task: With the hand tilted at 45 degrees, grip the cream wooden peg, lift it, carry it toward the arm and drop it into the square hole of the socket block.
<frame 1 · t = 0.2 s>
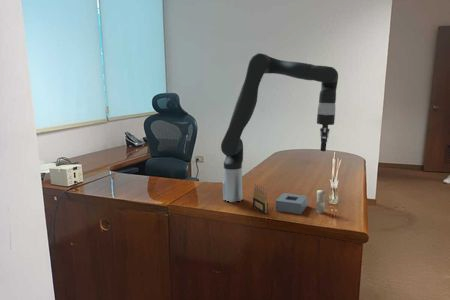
hand: (323, 149, 154), 29 cm above the table, tool pointing down, fingers open, 8 cm apart
peg: (320, 212, 158), on the table
socket block: (291, 208, 164), on the table
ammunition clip: (260, 210, 162), on the table
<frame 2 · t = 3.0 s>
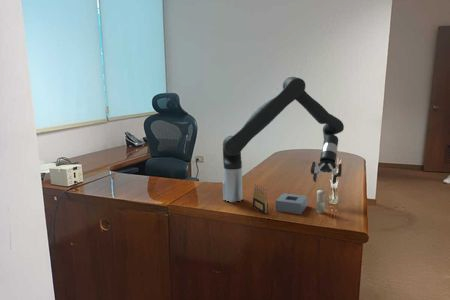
hand: (324, 182, 162), 12 cm above the table, tool tilted 45°, fingers open, 8 cm apart
nothing on the table moved.
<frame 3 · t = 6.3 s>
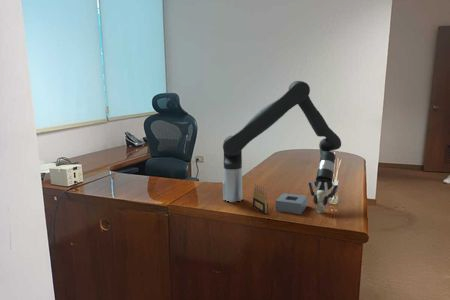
hand: (320, 204, 155), 5 cm above the table, tool tilted 45°, fingers closed on peg, 3 cm apart
peg: (320, 212, 158), on the table, touching gripper
everything else where it was.
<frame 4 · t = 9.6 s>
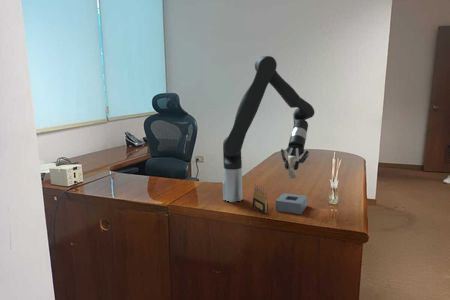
hand: (290, 168, 158), 20 cm above the table, tool tilted 45°, fingers closed on peg, 3 cm apart
peg: (291, 177, 161), point 15 cm above the table, touching gripper
everything else where it was.
when the fingers open (8 cm above the table, at t = 13.0 s): peg drops 3 cm, resting in socket block.
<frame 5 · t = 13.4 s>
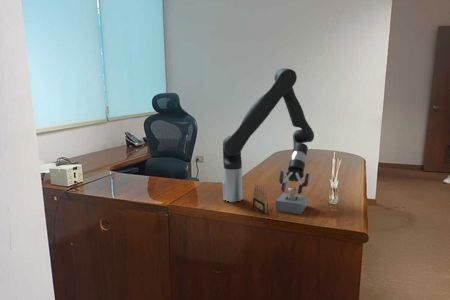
hand: (291, 192, 161), 8 cm above the table, tool tilted 45°, fingers open, 7 cm apart
peg: (291, 208, 164), resting in socket block
everything else where it was.
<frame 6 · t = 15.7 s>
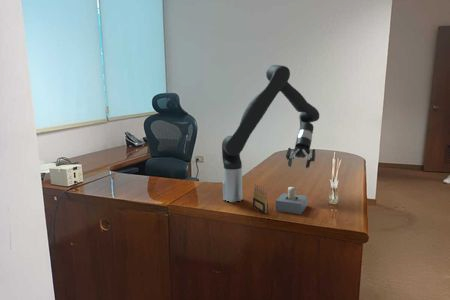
hand: (298, 166, 171), 18 cm above the table, tool tilted 45°, fingers open, 8 cm apart
nothing on the table moved.
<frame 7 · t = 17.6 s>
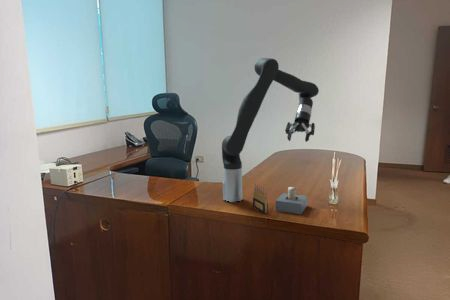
hand: (297, 140, 170), 31 cm above the table, tool tilted 45°, fingers open, 8 cm apart
nothing on the table moved.
at the end: peg 0.1 cm off-centre on the socket block, point 0.0 cm above the socket block's base; peg tilted 0°; the gripper is holding nothing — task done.
